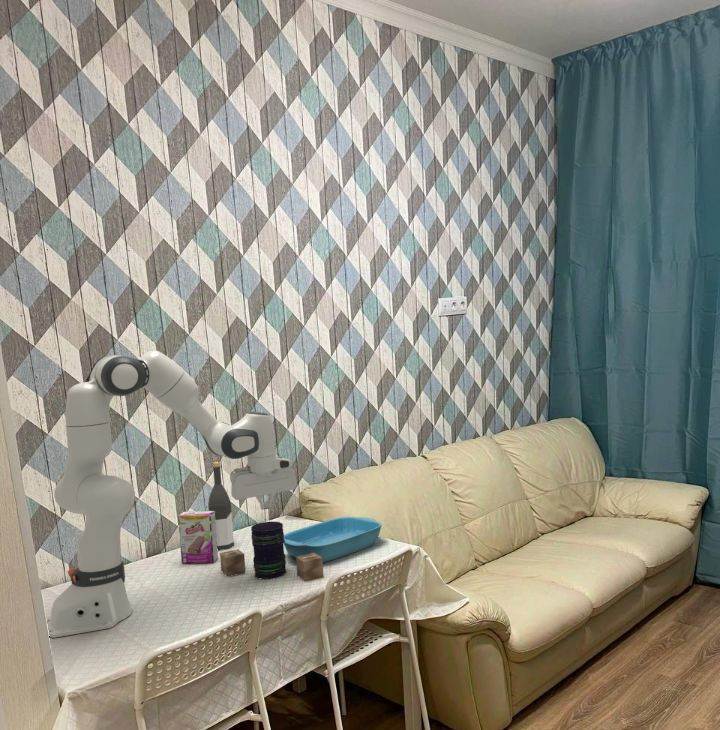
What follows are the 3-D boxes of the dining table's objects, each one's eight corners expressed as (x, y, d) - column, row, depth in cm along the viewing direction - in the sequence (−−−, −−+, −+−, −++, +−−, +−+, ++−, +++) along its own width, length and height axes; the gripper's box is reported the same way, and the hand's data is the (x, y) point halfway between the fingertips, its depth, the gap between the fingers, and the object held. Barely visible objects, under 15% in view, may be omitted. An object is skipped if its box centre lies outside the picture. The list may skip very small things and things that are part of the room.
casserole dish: (349, 530, 257) (348, 511, 257) (394, 541, 241) (393, 520, 241) (269, 559, 231) (268, 537, 231) (314, 572, 215) (313, 549, 215)
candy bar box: (181, 564, 230) (177, 515, 229) (186, 559, 235) (182, 511, 234) (214, 563, 229) (210, 514, 228) (218, 558, 234) (215, 510, 233)
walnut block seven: (226, 577, 216) (225, 557, 215) (221, 571, 221) (219, 552, 221) (245, 572, 219) (244, 553, 218) (239, 567, 224) (238, 548, 224)
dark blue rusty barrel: (251, 580, 211) (247, 531, 211) (257, 569, 221) (253, 522, 220) (284, 578, 211) (280, 529, 210) (288, 567, 221) (285, 520, 220)
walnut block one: (305, 581, 207) (303, 561, 207) (297, 576, 213) (295, 556, 212) (323, 577, 210) (322, 557, 210) (315, 571, 215) (313, 551, 215)
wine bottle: (214, 543, 251) (207, 460, 250) (236, 542, 251) (230, 459, 249) (208, 550, 243) (201, 465, 241) (231, 549, 243) (225, 464, 241)
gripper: (232, 471, 207) (236, 517, 207) (296, 460, 216) (300, 504, 217) (226, 468, 212) (230, 512, 213) (289, 457, 222) (292, 500, 223)
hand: (266, 508), depth 215 cm, fingers closed
